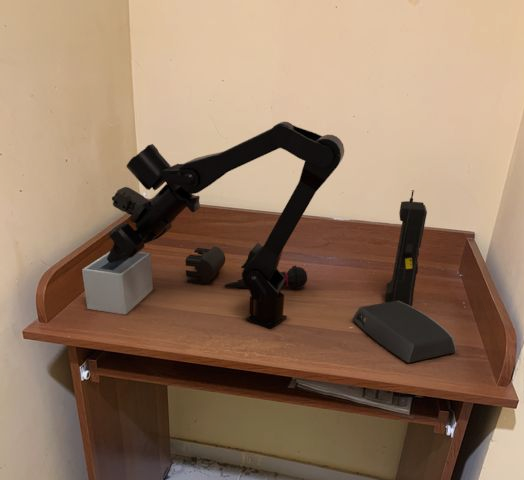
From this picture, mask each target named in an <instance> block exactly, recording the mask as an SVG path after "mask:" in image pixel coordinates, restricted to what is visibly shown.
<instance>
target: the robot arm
mask: <svg viewBox="0 0 524 480" xmlns="http://www.w3.org/2000/svg"><path fill="white" fill-rule="evenodd" d="M279 149H282V150H284V151H286V152H288V153H289V154H291V155H293V156H294V157H296V158H297V159H299V160H302V161H304V163H303V166H302V169H301V173H300V177H299V181H298V183H297V185H296V186H295V188H294V190H293V192H292V194H291V195H290V197H289V199H288V201H287V202H286V205H285V206H284V208H283V210H282V212H281V214H280V215H279V217H278V219H277V221H276V222H275V225H274V226H273V228H272V230H271V231H270V233H269V235H268V237H267V239H266V240H265V242H264V244H261V243H260V242H259V241H256V243H255V244H254V246H253V247H252V248H251V249H250V250H249V253H248V256H247V259H245V261H244V262H243V264H242V265H241V266H240V268H241V269H242V272H241V279H243V282H244V283H245V285H246V286H247V287H248V288H247V289H248V290H249V294H250V297H249V306H248V307H249V308H248V314H249V315H248V316H247V317H246V318H245V320H246V322H250V323H253V324H256V325H259V326H261V327H264V328H267V329H273V328H274V327H276V326H277V325H279V324H280V323H283V322H284V321H285V320H287V317H288V315H286V314H284V306H285V305H284V304H285V294H284V293H282V291H281V290H282V288H283V287H284V286H283V285H284V283H285V281H286V278H285V277H284V276H283V275H282V274H281V272H282V271H280V270H279V269H278V267H279V263H280V261H281V258H282V254H283V250H284V248H285V246H286V245H287V243H288V242H289V239H290V238H291V236H292V234H293V233H294V231H295V230H296V228H297V225H298V224H299V222H300V220H301V219H302V217H303V215H304V213H305V212H306V210H307V208H308V206H309V205H310V203H311V201H312V200H313V198H314V196H315V194H316V193H317V191H318V190H319V189H320V188H321V187H322V185H323V184H324V183H325V182H326V181H327V180H328V179H329V178H330V177H331V175H332V174H333V173H334V171H335V170H336V169H337V168H338V167H339V165H340V163H341V162H342V160H343V159H344V156H345V147H344V143H343V142H342V140H341V139H340V138H339V137H338V136H336V135H334V134H325V135H321V134H319V133H317V132H313V131H310V130H308V129H304V128H302V127H299V126H296V125H294V124H292V123H291V122H289V121H280V122H278V123H276V124H275V125H273V126H272V128H269V129H267V130H265V131H263V132H261V133H259V134H257V135H255V136H253V137H250V138H248V139H246V140H244V141H242V142H240V143H238V144H236V145H234V146H232V147H230V148H228V149H226V150H223V151H219V152H215V153H211V154H206V155H202V156H197V157H195V158H193V159H191V160H189V161H186V162H184V163H176V164H174V165H171V164H170V163H169V162H168V161H167V160H166V158H165V157H164V156H163V155H162V154H161V153H160V151H159V150H158V148H157V147H156V146H155V145H154V143H151V144H148V145H146V147H145V148H144V149H142V150H141V151H140V152H139V153H137V154H136V155H134V156H133V157H132V158H131V159H130V160H129V161H128V162H127V164H126V169H128V170H129V172H130V173H131V174H132V175H133V176H134V177H135V179H137V181H138V182H139V183H140V184H141V185H142V187H144V188H145V190H147V191H150V190H151V189H152V190H153V191H157V190H158V189H159V188H161V187H162V186H163V185H164V184H165V185H164V186H163V187H162V188H161V189H160V190H159V191H158V192H157V193H156V194H155V195H154V196H153V197H151V198H150V200H149V199H148V198H146V197H145V196H144V195H142V194H141V193H139V192H137V191H135V190H134V189H132V188H130V187H128V186H124V187H122V188H119V189H117V190H116V192H115V194H114V195H113V196H112V197H111V200H112V206H113V207H114V208H115V209H118V210H120V211H121V212H124V213H126V214H128V215H130V216H129V217H128V219H129V220H130V221H131V222H132V223H133V224H134V226H135V228H136V229H134V228H133V227H132V226H131V225H130V224H129V223H127V222H121V223H120V224H118V225H116V226H114V227H112V229H111V230H110V231H109V233H108V236H109V238H110V239H111V240H112V241H113V244H112V246H111V249H110V251H109V252H110V253H109V255H108V257H107V260H108V261H109V262H110V263H112V262H115V261H118V260H122V259H125V258H129V257H130V258H132V257H133V256H135V255H136V254H137V253H138V252H142V250H143V249H144V248H145V244H147V243H150V242H152V241H155V240H158V239H159V238H160V237H162V236H164V235H165V234H166V233H168V231H169V230H171V229H172V223H173V222H174V221H175V220H176V218H177V217H178V216H179V215H180V214H182V212H183V211H184V210H185V209H186V208H187V209H188V210H189V211H190V212H191V213H195V212H196V211H198V210H199V209H200V208H201V203H200V199H201V197H200V195H196V194H198V193H200V192H202V191H203V190H205V189H206V188H208V187H210V186H211V185H212V184H214V183H215V182H217V181H218V180H219V179H221V178H222V177H224V176H225V175H227V173H229V172H231V171H233V170H235V169H237V168H240V167H242V166H244V165H246V164H248V163H251V162H252V161H255V160H257V159H259V158H261V157H263V156H265V155H268V154H271V153H272V152H275V151H276V150H279Z"/></svg>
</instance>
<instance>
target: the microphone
mask: <svg viewBox="0 0 524 480" xmlns="http://www.w3.org/2000/svg"><path fill="white" fill-rule="evenodd" d="M280 272H281V274H282V275H283V276H284V277H285V278H286V281H285V283H284V285H283V287H286V286H288V287H290V288H293V289H294V290H295V291H296V290H299V289H300V288H303V287H304V286H306V284H307V282H308V273H307V271H306V270H305V269H304V268H303V267H300V266H297V265H292V267H290V268H289V269H288V270H287V272H286V271H280ZM224 288H237V289H249V288H248V287H247V286H246V285H245V283H244V282H243V279H242V278H240V279H237V280H236V281H231V282H228V283H225V284H224Z"/></svg>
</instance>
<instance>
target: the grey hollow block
mask: <svg viewBox="0 0 524 480" xmlns="http://www.w3.org/2000/svg"><path fill="white" fill-rule="evenodd" d="M109 253H110V251H108V252H107V253H105V254H103V255H102V256H101V257H99V258H98V259H96V260H94V261H93V262H91V263H90V264H88V265H87V266H85V267H84V268H82V269H81V270H82V271H81V272H82V280H83V286H84V287H83V288H84V294H85V301H86V302H85V303H86V309H87V310H93V311H98V312H99V311H100V312H106V313H112V314H113V313H114V314H118V315H127V314H128V313H130V311H131V310H133V309H134V308H135V307H136V306H137V305H138V304H139V303H140V302H141V301H142V300H144V299H145V298H146V297H147V296H148V295H149V294H150V293H151V292H152V291H154V288H153V287H154V286H153V272H152V271H153V270H152V258H151V253H150V252H143V251H140V252H138V253H137V254H136V255H135V256H133V257H132V258H130V257H129V258H125V259H122V260H118V261H115V262H112V263H110V262H109V261H108V260H107V257H108V255H109Z"/></svg>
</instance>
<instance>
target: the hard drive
mask: <svg viewBox="0 0 524 480" xmlns="http://www.w3.org/2000/svg"><path fill="white" fill-rule="evenodd" d="M352 321H353V322H354V323H355V324H356V325H357V326H358V327H359V328H360V329H362V330H363V331H364V332H365V333H366V334H367V335H368V336H369V337H371V338H372V339H373V340H374V341H376V342H377V343H379V344H380V345H381V346H383V347H384V348H385V349H386V350H388V351H389V352H390V353H392V354H393V355H395V356H396V357H398V358H400V359H401V360H403V361H404V362H406V363H414V362H418V361H422V360H427V359H432V358H437V357H440V356H445V355H449V354H454V353H456V352H457V348H456V347H457V346H456V342H455V340H454V337H453V335H452V334H451V333H450V332H449V331H448V330H447V329H446V328H445V327H443V326H442V325H441V324H439V323H438V322H437V321H436V320H435V319H433V318H432V317H430V316H428V315H427V314H425V313H424V312H422V311H420V310H418V309H416V308H415V307H413V306H409V305H407V304H405V303H402V302H400V301H393V302H387V303H385V302H382V303H376V304H370V305H364V306H359V308H358V309H357V310H356V312H355V314H354V315H353V317H352Z"/></svg>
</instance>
